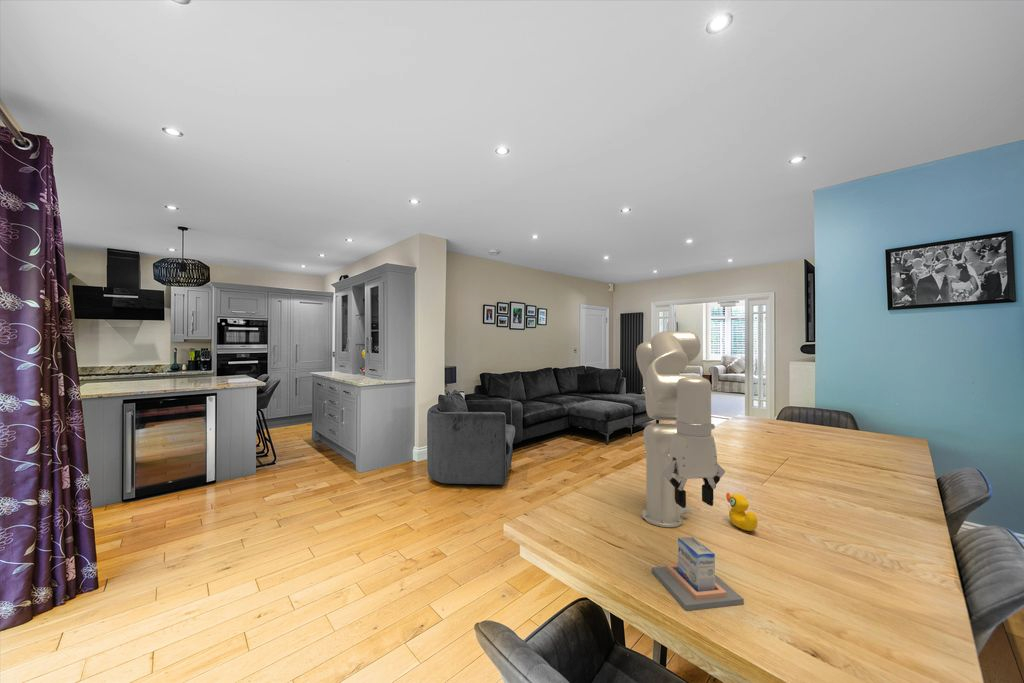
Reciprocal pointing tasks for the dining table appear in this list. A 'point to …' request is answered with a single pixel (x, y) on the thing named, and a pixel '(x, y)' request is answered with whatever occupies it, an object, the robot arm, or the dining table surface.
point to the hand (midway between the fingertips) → (694, 503)
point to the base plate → (689, 595)
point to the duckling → (741, 512)
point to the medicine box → (696, 564)
